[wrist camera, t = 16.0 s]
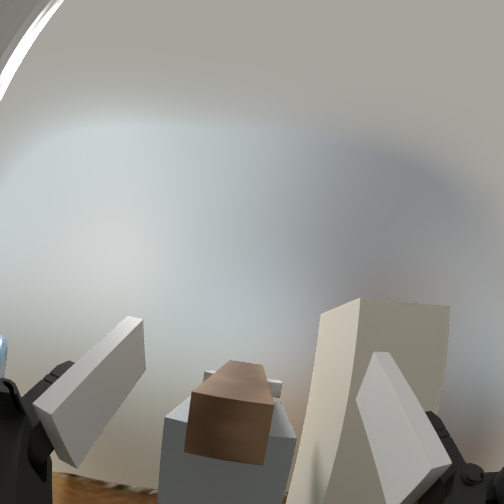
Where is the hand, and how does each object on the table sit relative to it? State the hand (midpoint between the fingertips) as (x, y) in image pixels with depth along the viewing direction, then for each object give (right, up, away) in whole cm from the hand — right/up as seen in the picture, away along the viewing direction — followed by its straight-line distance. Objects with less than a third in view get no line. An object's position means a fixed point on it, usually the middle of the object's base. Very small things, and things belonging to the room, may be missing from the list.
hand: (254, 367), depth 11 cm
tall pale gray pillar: (-4, -27, +5) cm, 28 cm away
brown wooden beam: (-1, -9, +10) cm, 14 cm away
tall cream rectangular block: (+10, -30, +10) cm, 33 cm away
